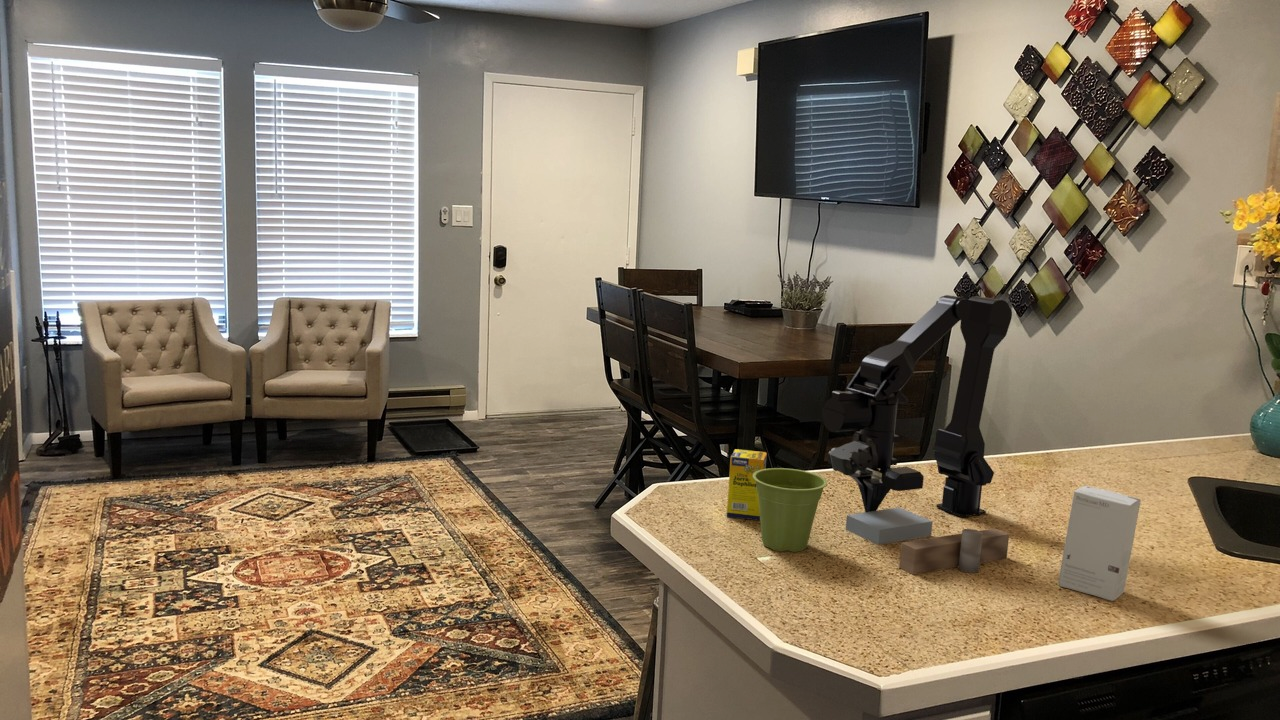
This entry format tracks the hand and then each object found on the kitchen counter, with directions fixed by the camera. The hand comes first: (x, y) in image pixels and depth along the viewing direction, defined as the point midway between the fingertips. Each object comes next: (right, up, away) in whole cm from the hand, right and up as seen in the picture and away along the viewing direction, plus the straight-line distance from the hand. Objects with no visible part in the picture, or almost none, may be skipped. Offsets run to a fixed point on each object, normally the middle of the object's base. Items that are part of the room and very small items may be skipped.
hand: (869, 515), depth 173 cm
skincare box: (+27, -7, -25) cm, 38 cm away
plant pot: (-17, -3, -13) cm, 21 cm away
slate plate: (+2, -3, -4) cm, 5 cm away
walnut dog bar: (+10, -5, -18) cm, 22 cm away
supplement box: (-22, 0, +2) cm, 22 cm away
